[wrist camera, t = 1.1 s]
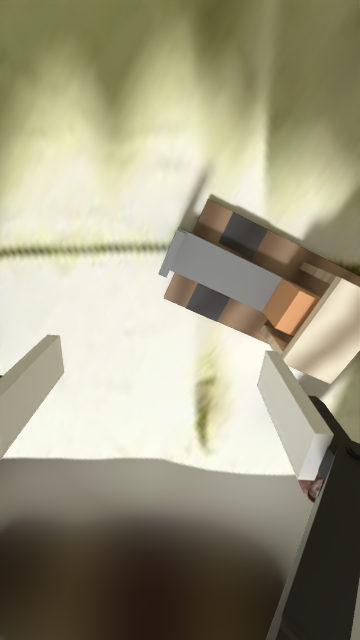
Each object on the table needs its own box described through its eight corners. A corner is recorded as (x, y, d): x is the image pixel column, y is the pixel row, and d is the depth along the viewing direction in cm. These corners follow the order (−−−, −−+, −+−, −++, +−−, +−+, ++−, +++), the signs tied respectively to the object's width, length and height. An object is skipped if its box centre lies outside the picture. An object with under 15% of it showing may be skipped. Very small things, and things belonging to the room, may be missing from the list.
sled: (162, 264, 34) (157, 276, 28) (178, 227, 32) (176, 230, 26) (295, 325, 37) (316, 347, 31) (317, 294, 35) (344, 311, 29)
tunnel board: (164, 296, 37) (156, 324, 28) (207, 199, 32) (216, 194, 23) (334, 371, 41) (375, 415, 32) (397, 296, 36) (466, 323, 27)
